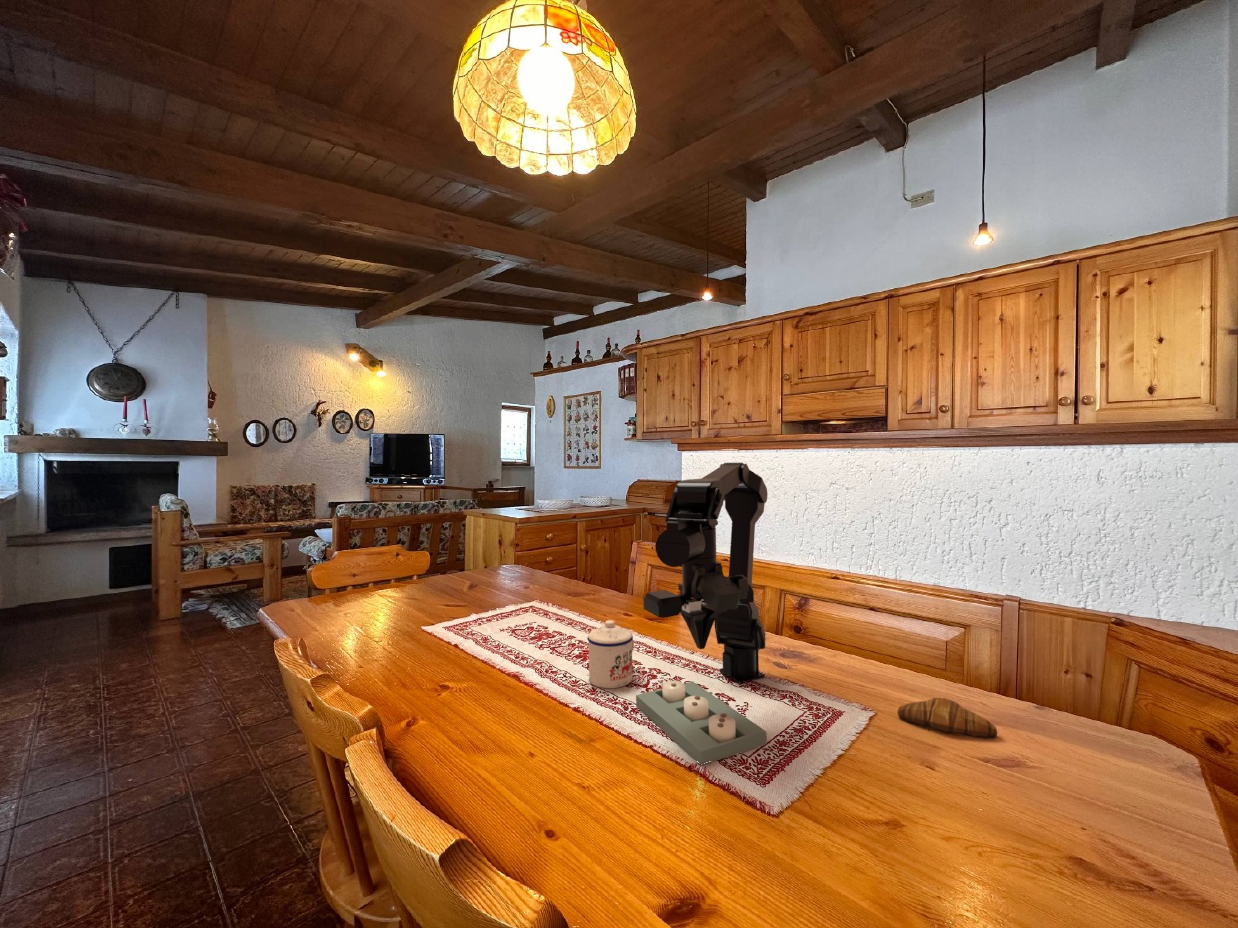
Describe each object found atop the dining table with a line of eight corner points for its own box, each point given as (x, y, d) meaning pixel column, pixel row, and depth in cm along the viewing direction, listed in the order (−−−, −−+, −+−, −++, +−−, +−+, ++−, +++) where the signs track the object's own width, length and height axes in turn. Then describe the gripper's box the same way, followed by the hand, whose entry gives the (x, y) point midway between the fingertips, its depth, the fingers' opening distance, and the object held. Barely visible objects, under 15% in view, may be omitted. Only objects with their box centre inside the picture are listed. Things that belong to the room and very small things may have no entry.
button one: (677, 696, 94) (677, 677, 94) (689, 705, 90) (689, 686, 90) (658, 701, 92) (658, 682, 92) (670, 710, 89) (669, 691, 89)
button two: (699, 712, 88) (699, 692, 88) (713, 723, 84) (713, 702, 84) (679, 718, 86) (679, 697, 86) (692, 729, 82) (692, 707, 82)
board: (693, 692, 96) (692, 681, 96) (766, 744, 78) (766, 731, 78) (636, 706, 91) (636, 694, 91) (700, 765, 73) (700, 751, 73)
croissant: (994, 729, 82) (994, 698, 82) (1000, 750, 76) (1000, 717, 76) (898, 710, 89) (898, 681, 89) (896, 728, 83) (896, 697, 83)
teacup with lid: (615, 693, 96) (614, 631, 96) (578, 682, 102) (577, 623, 102) (650, 672, 106) (649, 615, 106) (615, 662, 111) (614, 608, 111)
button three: (724, 732, 81) (724, 710, 81) (741, 744, 78) (740, 722, 78) (703, 738, 80) (703, 716, 79) (719, 751, 76) (719, 728, 76)
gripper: (676, 571, 75) (679, 678, 75) (776, 557, 83) (777, 654, 83) (640, 558, 85) (642, 652, 85) (732, 547, 93) (734, 633, 93)
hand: (700, 648), depth 86 cm, fingers closed
